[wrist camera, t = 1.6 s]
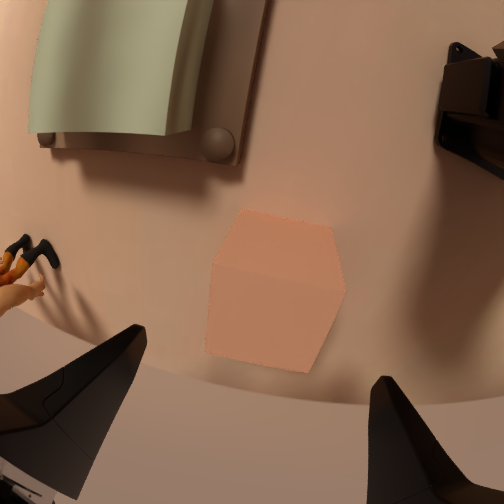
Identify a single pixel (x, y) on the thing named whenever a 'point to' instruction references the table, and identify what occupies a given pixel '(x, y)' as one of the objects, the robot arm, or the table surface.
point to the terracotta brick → (274, 292)
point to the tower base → (211, 101)
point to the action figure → (8, 294)
